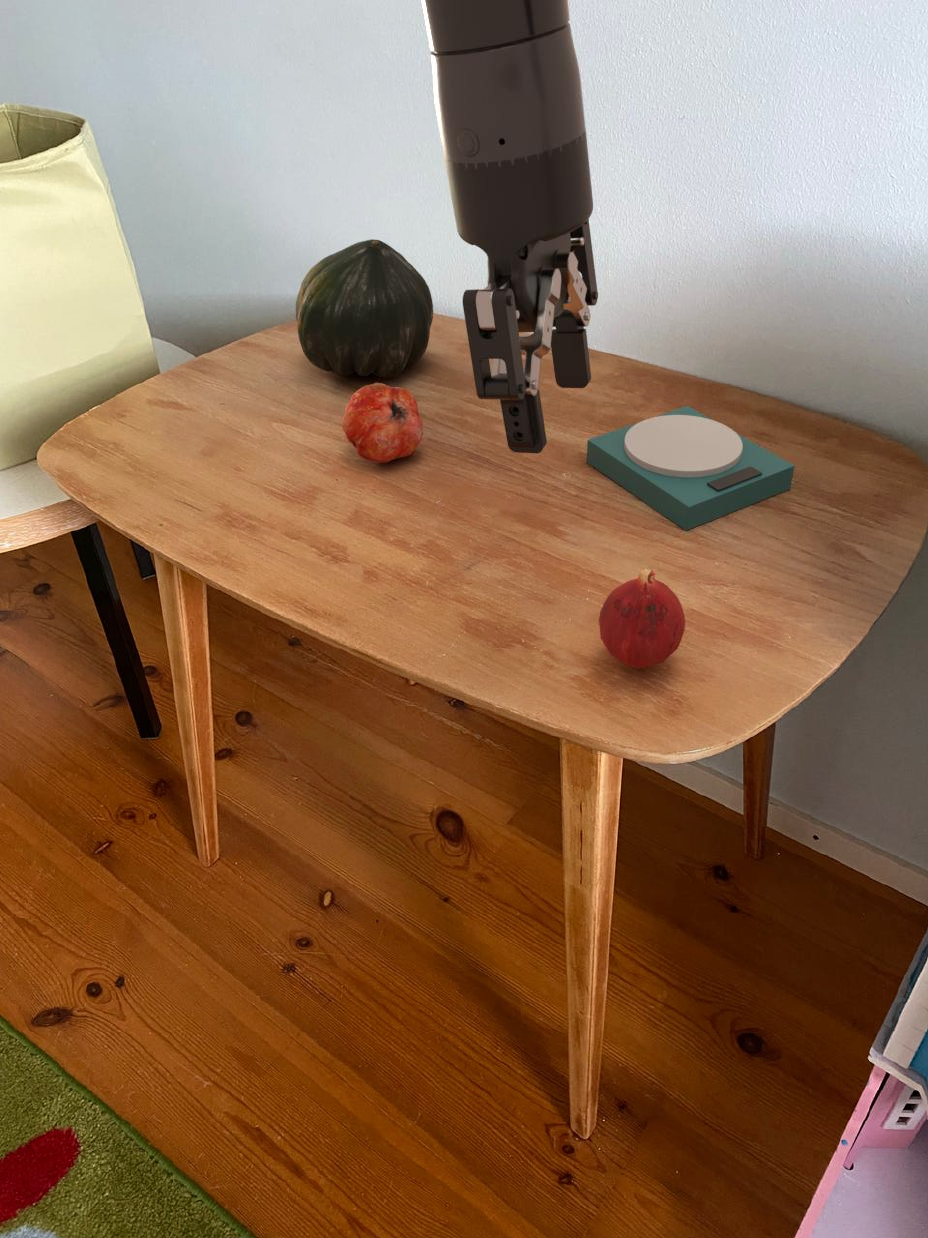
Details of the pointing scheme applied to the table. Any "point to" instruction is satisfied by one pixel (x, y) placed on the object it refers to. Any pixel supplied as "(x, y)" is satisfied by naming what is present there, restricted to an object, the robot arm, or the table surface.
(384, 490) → the table surface
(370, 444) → the pomegranate
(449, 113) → the robot arm
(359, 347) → the squash
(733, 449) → the scale
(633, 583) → the onion
